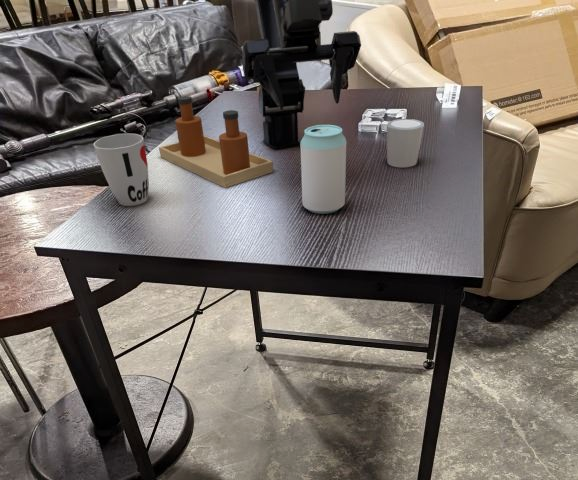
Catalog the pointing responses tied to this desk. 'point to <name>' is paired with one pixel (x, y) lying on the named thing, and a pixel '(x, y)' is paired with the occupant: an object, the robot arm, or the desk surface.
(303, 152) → the can
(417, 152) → the shot glass
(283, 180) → the desk surface
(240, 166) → the amber bottle near
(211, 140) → the tray
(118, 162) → the cup
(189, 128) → the amber bottle far
